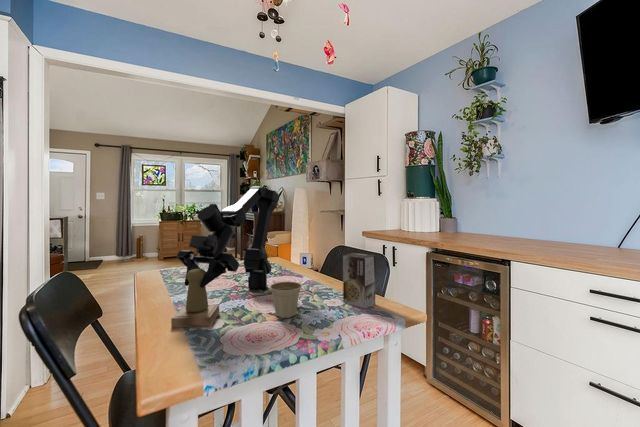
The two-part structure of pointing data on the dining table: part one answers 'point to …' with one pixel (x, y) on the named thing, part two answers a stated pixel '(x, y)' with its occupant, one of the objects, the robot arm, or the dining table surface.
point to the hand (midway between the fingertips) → (193, 286)
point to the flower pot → (285, 298)
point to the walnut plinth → (195, 317)
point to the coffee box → (359, 279)
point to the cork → (196, 291)
